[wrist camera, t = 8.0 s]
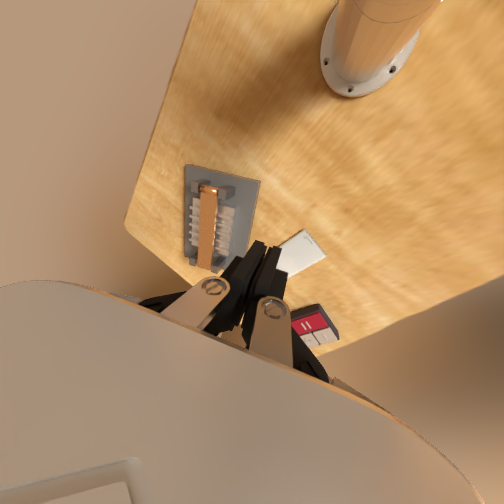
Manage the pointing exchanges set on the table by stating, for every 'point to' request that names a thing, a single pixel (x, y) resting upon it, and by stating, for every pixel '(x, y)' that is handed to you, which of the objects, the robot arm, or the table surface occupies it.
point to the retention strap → (207, 225)
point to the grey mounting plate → (243, 199)
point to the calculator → (314, 326)
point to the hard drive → (299, 253)
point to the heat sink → (223, 223)
